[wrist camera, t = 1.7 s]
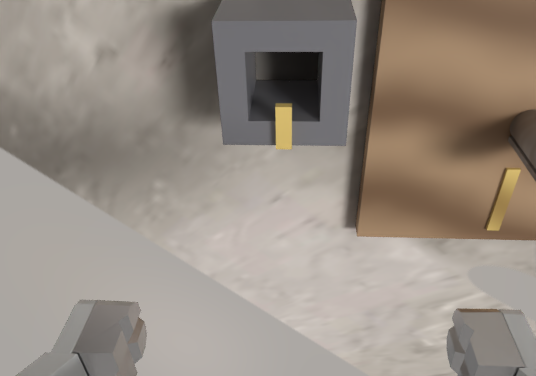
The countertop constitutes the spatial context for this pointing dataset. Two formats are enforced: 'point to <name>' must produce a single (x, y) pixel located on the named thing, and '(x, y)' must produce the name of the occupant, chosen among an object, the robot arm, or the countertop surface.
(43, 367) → the robot arm
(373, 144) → the brown square board
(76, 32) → the countertop surface
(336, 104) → the square tunnel box
